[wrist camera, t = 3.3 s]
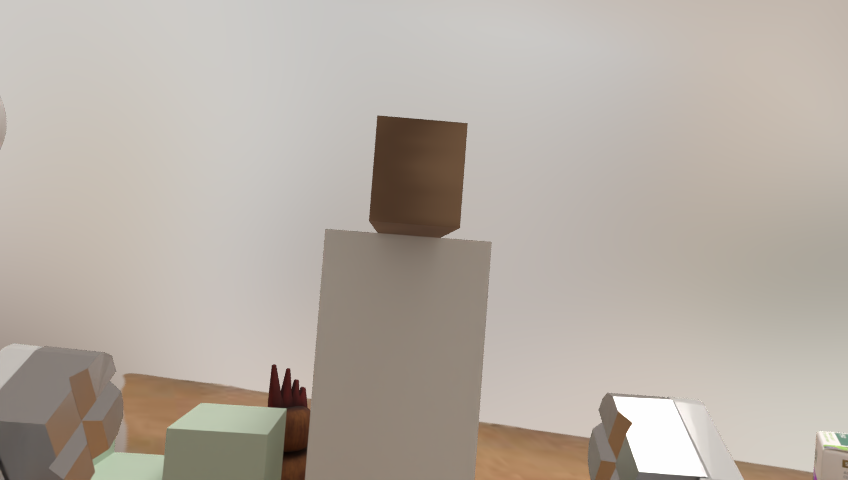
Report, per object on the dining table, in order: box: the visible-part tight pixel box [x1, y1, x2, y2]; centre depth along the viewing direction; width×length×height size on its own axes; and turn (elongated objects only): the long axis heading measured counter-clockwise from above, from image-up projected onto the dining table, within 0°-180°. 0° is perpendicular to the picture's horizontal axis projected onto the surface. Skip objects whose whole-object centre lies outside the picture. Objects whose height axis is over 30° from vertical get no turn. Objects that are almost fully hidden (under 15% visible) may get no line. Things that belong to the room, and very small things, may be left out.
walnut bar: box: [369, 116, 467, 238], centre depth 32 cm, size 3×24×4 cm, turn 3°
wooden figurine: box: [268, 365, 310, 480], centre depth 53 cm, size 7×6×15 cm
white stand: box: [305, 229, 491, 480], centre depth 36 cm, size 8×16×26 cm, turn 3°
